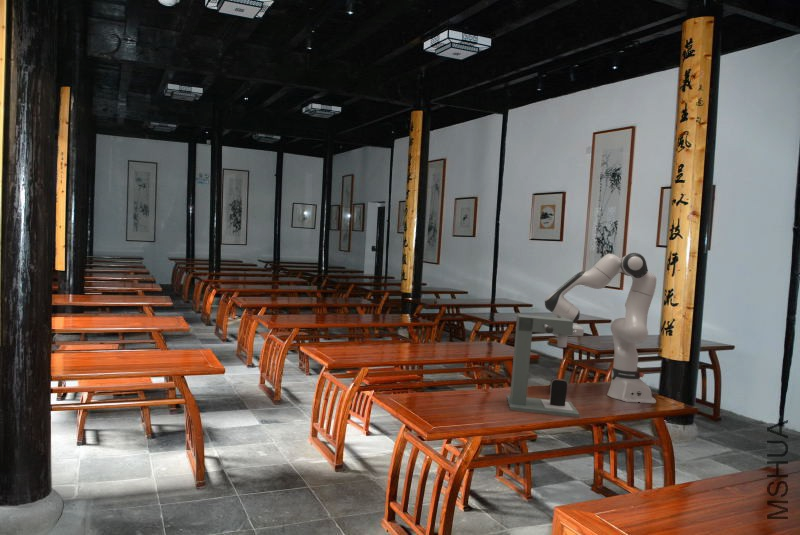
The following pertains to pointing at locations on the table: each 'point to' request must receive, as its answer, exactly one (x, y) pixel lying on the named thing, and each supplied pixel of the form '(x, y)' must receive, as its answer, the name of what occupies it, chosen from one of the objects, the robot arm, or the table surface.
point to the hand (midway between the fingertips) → (564, 332)
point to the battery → (558, 392)
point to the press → (522, 360)
